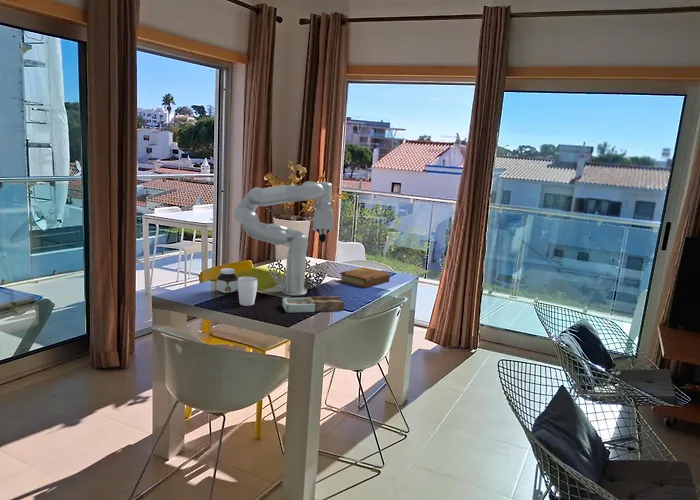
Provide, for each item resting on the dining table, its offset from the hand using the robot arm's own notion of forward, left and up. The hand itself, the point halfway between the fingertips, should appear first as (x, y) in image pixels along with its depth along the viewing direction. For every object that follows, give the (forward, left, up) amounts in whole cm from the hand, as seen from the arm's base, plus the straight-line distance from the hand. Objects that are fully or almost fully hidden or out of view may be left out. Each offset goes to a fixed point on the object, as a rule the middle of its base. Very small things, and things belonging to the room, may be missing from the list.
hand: (322, 241), depth 276 cm
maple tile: (-12, -31, -24) cm, 41 cm away
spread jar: (-46, 0, -26) cm, 53 cm away
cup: (-40, -21, -26) cm, 52 cm away
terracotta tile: (-20, -31, -24) cm, 44 cm away
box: (-17, -30, -26) cm, 43 cm away
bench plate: (-4, -30, -26) cm, 40 cm away
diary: (+31, +18, -27) cm, 45 cm away
